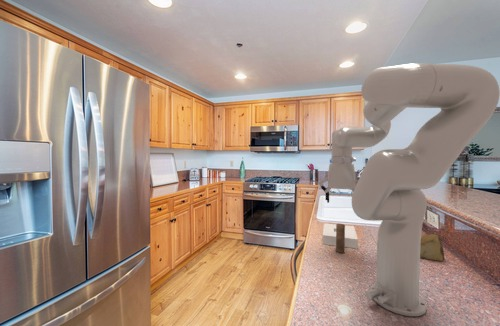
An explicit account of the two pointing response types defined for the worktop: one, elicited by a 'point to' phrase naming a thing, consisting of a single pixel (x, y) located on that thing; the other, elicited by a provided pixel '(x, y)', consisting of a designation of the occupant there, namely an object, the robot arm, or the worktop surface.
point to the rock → (431, 247)
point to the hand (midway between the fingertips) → (340, 203)
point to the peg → (340, 238)
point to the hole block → (330, 236)
